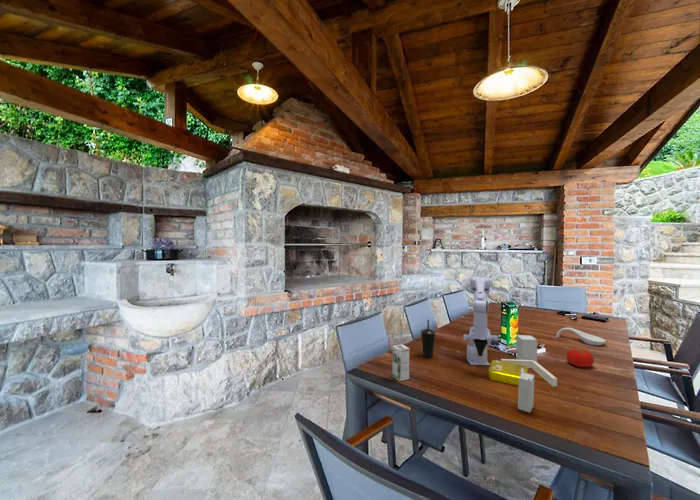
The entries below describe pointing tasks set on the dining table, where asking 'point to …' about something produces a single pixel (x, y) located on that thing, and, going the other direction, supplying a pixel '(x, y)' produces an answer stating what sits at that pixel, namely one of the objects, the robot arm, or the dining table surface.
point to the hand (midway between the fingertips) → (480, 355)
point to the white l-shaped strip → (535, 369)
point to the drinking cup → (428, 342)
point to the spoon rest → (585, 337)
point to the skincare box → (526, 392)
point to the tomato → (580, 357)
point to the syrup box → (400, 362)
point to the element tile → (506, 372)
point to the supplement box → (526, 348)
